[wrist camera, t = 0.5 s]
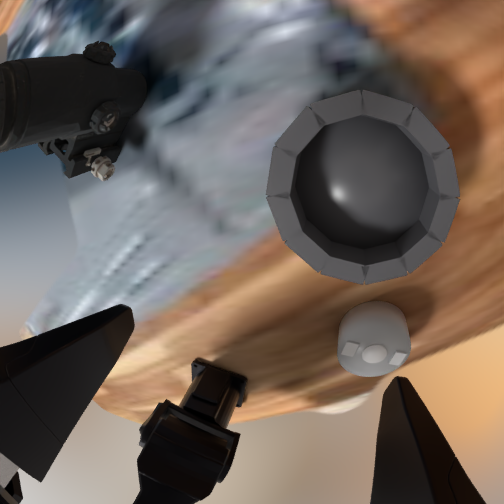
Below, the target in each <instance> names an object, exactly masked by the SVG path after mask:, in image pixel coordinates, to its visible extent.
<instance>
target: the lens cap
mask: <svg viewBox="0 0 504 504" xmlns="http://www.w3.org/2000/svg"><path fill="white" fill-rule="evenodd" d="M410 350H411V342H410V337H409V332H408V327H407V323H406V318H405V316H404V314H403V312H402V311H401V310H400V309H399V308H398V307H397V306H395V305H393V304H391V303H388V302H384V301H370V302H365V303H362V304H359V305H357V306H355V307H354V308H352V309H351V310H349V311H348V312H347V313H346V314H345V315H344V317H343V318H342V320H341V322H340V325H339V336H338V350H337V357H338V361H339V363H340V364H341V366H342V367H343V368H344V369H345V370H347V371H348V372H350V373H352V374H355V375H358V376H364V377H374V376H380V375H384V374H387V373H390V372H392V371H394V370H395V369H397V368H398V367H400V366H401V365H402V364H403V363H404V362H405V361H406V359H407V358H408V356H409V354H410Z"/></svg>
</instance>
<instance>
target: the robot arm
mask: <svg viewBox="0 0 504 504" xmlns="http://www.w3.org/2000/svg"><path fill="white" fill-rule="evenodd" d="M134 327H135V324H134V318H133V313H132V309H131V308H130V307H129V306H126V305H123V304H119V305H116V306H113V307H111V308H108V309H105V310H103V311H100V312H97V313H95V314H92V315H90V316H87V317H84V318H82V319H79V320H76V321H74V322H71V323H68V324H66V325H63V326H60V327H58V328H55V329H52V330H50V331H47V332H45V333H42V334H39V335H38V336H34V337H31V338H29V339H26V340H23V341H20V342H17V343H14V344H10V345H7V346H3V347H0V504H19V503H20V502H21V500H22V499H23V496H22V491H21V485H20V479H19V474H18V472H17V470H18V469H19V468H21V469H22V470H23V471H25V472H26V473H28V474H29V475H30V476H32V477H33V478H35V479H36V480H38V481H39V482H42V480H43V479H44V477H45V475H46V474H47V472H48V470H49V469H50V467H51V465H52V463H53V462H54V460H55V458H56V457H57V455H58V453H59V452H60V450H61V448H62V446H63V444H64V443H65V441H66V440H67V438H68V436H69V435H70V433H71V431H72V430H73V428H74V427H75V425H76V424H77V422H78V420H79V419H80V417H81V415H82V414H83V412H84V411H85V409H86V408H87V406H88V404H89V403H90V402H91V400H92V398H93V397H94V395H95V394H96V392H97V391H98V389H99V388H100V386H101V385H102V383H103V382H104V380H105V379H106V377H107V376H108V374H109V373H110V371H111V370H112V368H113V367H114V365H115V364H116V362H117V360H118V358H119V357H120V355H121V353H122V351H123V349H124V347H125V345H126V343H127V342H128V340H129V338H130V336H131V334H132V332H133V330H134ZM191 366H192V383H191V385H190V387H189V389H188V390H187V392H186V394H185V396H184V398H183V399H182V401H181V403H180V405H179V406H177V405H175V404H173V403H171V401H169V400H167V399H166V400H165V402H164V403H158V405H157V407H156V408H155V410H154V411H153V413H152V414H151V415H150V417H149V418H148V419H147V420H146V421H145V422H144V423H143V424H142V426H141V427H140V429H139V431H140V434H141V437H140V439H141V440H140V442H139V445H140V446H141V447H143V449H142V451H141V453H140V455H139V457H138V459H137V466H138V475H139V483H140V492H139V494H138V496H137V497H136V499H135V501H134V503H133V504H194V503H196V502H198V501H199V500H200V501H201V500H203V499H204V498H206V497H207V496H209V495H210V493H211V492H212V490H213V488H214V486H215V484H216V482H218V483H221V482H222V481H223V480H224V478H225V477H226V475H227V474H228V471H229V470H230V467H231V465H232V462H233V459H234V456H235V452H236V449H237V445H238V442H239V438H240V433H237V432H233V431H230V430H228V429H226V428H227V426H228V423H229V421H230V419H231V416H232V414H233V411H234V409H235V407H241V406H242V403H243V398H244V394H245V389H246V384H247V378H246V377H244V376H241V375H237V374H234V373H231V372H228V371H225V370H222V369H219V368H216V367H213V366H210V365H207V364H205V363H202V362H199V361H196V360H194V361H193V362H192V364H191ZM370 504H486V503H485V501H484V500H483V498H482V497H481V495H480V494H479V492H478V491H477V489H476V488H475V487H474V485H473V484H472V482H471V480H470V479H469V478H468V476H467V474H466V473H465V471H464V469H463V468H462V466H461V464H460V462H459V461H458V459H457V457H455V454H454V452H453V450H452V449H451V447H450V445H449V443H448V442H447V440H446V438H445V437H444V435H443V433H442V432H441V430H440V429H439V427H438V425H437V424H436V422H435V420H434V419H433V417H432V416H431V414H430V412H429V411H428V409H427V407H426V406H425V404H424V403H423V401H422V400H421V398H420V397H419V395H418V393H417V392H416V390H415V389H414V387H413V386H412V384H411V383H410V381H409V380H408V379H407V378H406V377H399V376H397V377H395V378H394V379H393V380H392V382H391V383H390V384H389V386H388V388H387V389H386V390H385V392H384V394H383V399H382V407H381V414H380V421H379V427H378V433H377V442H376V457H375V467H374V477H373V486H372V494H371V502H370Z"/></svg>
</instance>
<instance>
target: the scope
mask: <svg viewBox="0 0 504 504" xmlns="http://www.w3.org/2000/svg"><path fill="white" fill-rule="evenodd" d="M98 43H99V41H97V42H95V43H93V44H89V45H87V46H86V47H85V50H84V51H83V54H71V55H68V56H55V57H39V58H27V59H18V60H15V61H14V60H11V61H6V62H4V63H2V64H0V152H5V151H8V150H9V149H16V148H20V147H24V146H28V145H32V144H36V143H38V146H39V147H40V149H41V150H42V151H43V152H44V153H45V154H46V155H49V154H53V153H55V154H56V155H57V156H58V158H59V159H60V160H61V161H62V162H63V163H64V164H65V165H66V170H67V171H65V172H63V173H64V174H65V175H66V176H67V177H68V178H72V177H75V176H77V175H80V174H83V173H85V172H88V171H91V172H92V173H93V175H94V176H95V177H99V178H100V179H101V180H102V181H106V180H108V179H109V178H110V177H111V176H112V175H113V173H114V171H115V167H114V165H113V164H112V163H114V162H116V160H117V158H118V156H119V153H120V151H121V147H120V146H115V143H116V142H117V140H118V139H119V137H120V135H121V133H122V131H123V129H124V127H125V126H126V124H127V122H128V120H129V118H130V116H131V115H133V114H134V113H136V112H137V111H138V110H139V109H140V108H141V106H142V105H143V103H144V101H145V98H146V94H147V84H146V80H145V78H144V76H143V75H142V74H141V73H140V72H139V71H137V70H135V69H123V68H115V67H114V66H113V65H112V64H111V62H112V61H113V58H114V57H115V55H116V53H115V51H114V50H113V47H112V45H111V46H110V47H109V44H108V43H105V42H100V43H99V44H98ZM63 150H66V152H63ZM104 176H105V177H106V178H104Z"/></svg>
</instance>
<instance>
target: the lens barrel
mask: <svg viewBox="0 0 504 504" xmlns="http://www.w3.org/2000/svg"><path fill="white" fill-rule="evenodd" d="M310 106H311V108H310V107H308V106H306V108H305V109H304V110H303V111H302V112H301V113H300V114H299V116H298V117H297V118H296V119H295V120H294V121H293V123H292V124H291V125H290V126H289V127H288V129H287V130H286V131H285V132H284V133H283V134H282V136H281V137H280V138H279V139H278V140H277V142H276V143H275V145H276V146H275V147H273V151H272V157H271V164H270V171H269V177H268V184H267V190H266V195H268V196H267V198H266V199H267V201H268V204H269V206H270V209H271V212H272V214H273V217H274V219H275V222H276V225H277V227H278V230H279V232H280V235H281V238H282V240H283V241H285V240H286V241H285V244H286V245H287V246H288V247H289V248H290V249H291V250H293V251H294V252H295V253H296V254H297V255H298V256H299V257H301V258H302V259H303V260H304V261H305V262H306V263H307V264H309V265H310V266H311V267H312V268H313V269H314V270H315V271H317V272H319V271H321V274H322V275H326V276H330V277H334V278H338V279H342V280H346V281H350V282H354V283H358V284H362V285H363V283H364V280H365V284H366V285H367V284H371V283H376V282H380V281H385V280H389V279H393V278H398V277H402V276H406V275H407V271H408V272H409V273H412V272H413V271H414V270H415V269H416V268H417V267H419V266H420V265H421V264H422V263H423V262H424V261H426V260H427V259H428V258H429V257H430V256H431V255H432V254H434V253H435V252H436V251H437V250H438V249H439V248H440V247H441V246H442V243H441V242H444V243H445V240H446V238H447V235H448V232H449V230H450V227H451V224H452V221H453V219H454V216H455V213H456V210H457V207H458V204H459V201H460V199H458V198H457V197H459V196H460V192H459V186H458V179H457V174H456V168H455V163H454V158H453V154H452V149H451V148H448V147H449V146H450V145H449V144H448V142H447V141H446V140H445V139H444V137H443V136H442V135H441V134H440V133H439V131H438V130H437V129H436V128H435V127H434V126H433V125H432V123H431V122H430V121H429V120H428V119H427V118H426V117H425V116H424V115H423V113H422V112H421V111H420V110H419V109H418V108H417V107H413V104H410V103H407V102H404V101H401V100H398V99H394V98H391V97H388V96H385V95H381V94H378V93H374V92H371V91H367V90H362V91H361V92H360V90H356V91H352V92H348V93H345V94H341V95H338V96H334V97H331V98H327V99H324V100H321V101H318V102H315V103H311V104H310ZM440 241H441V242H440Z"/></svg>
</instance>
